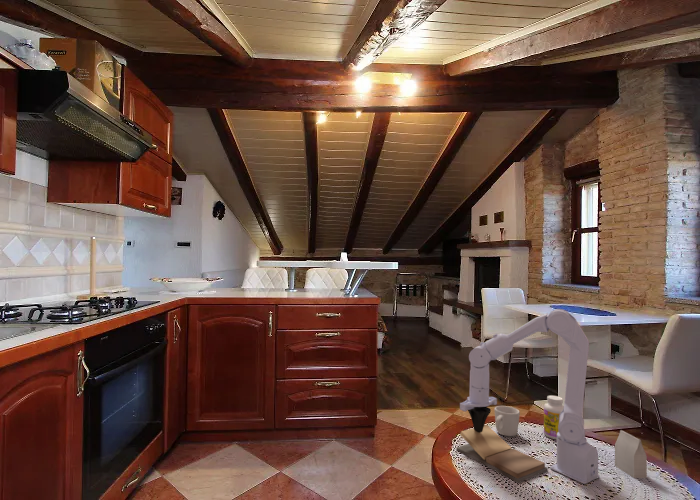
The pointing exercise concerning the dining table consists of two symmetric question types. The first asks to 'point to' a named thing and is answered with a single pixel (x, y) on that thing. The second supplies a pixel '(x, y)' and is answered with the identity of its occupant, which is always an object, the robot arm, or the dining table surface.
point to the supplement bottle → (552, 416)
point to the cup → (507, 420)
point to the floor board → (508, 463)
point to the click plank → (485, 441)
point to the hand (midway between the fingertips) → (478, 431)
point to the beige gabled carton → (630, 455)
